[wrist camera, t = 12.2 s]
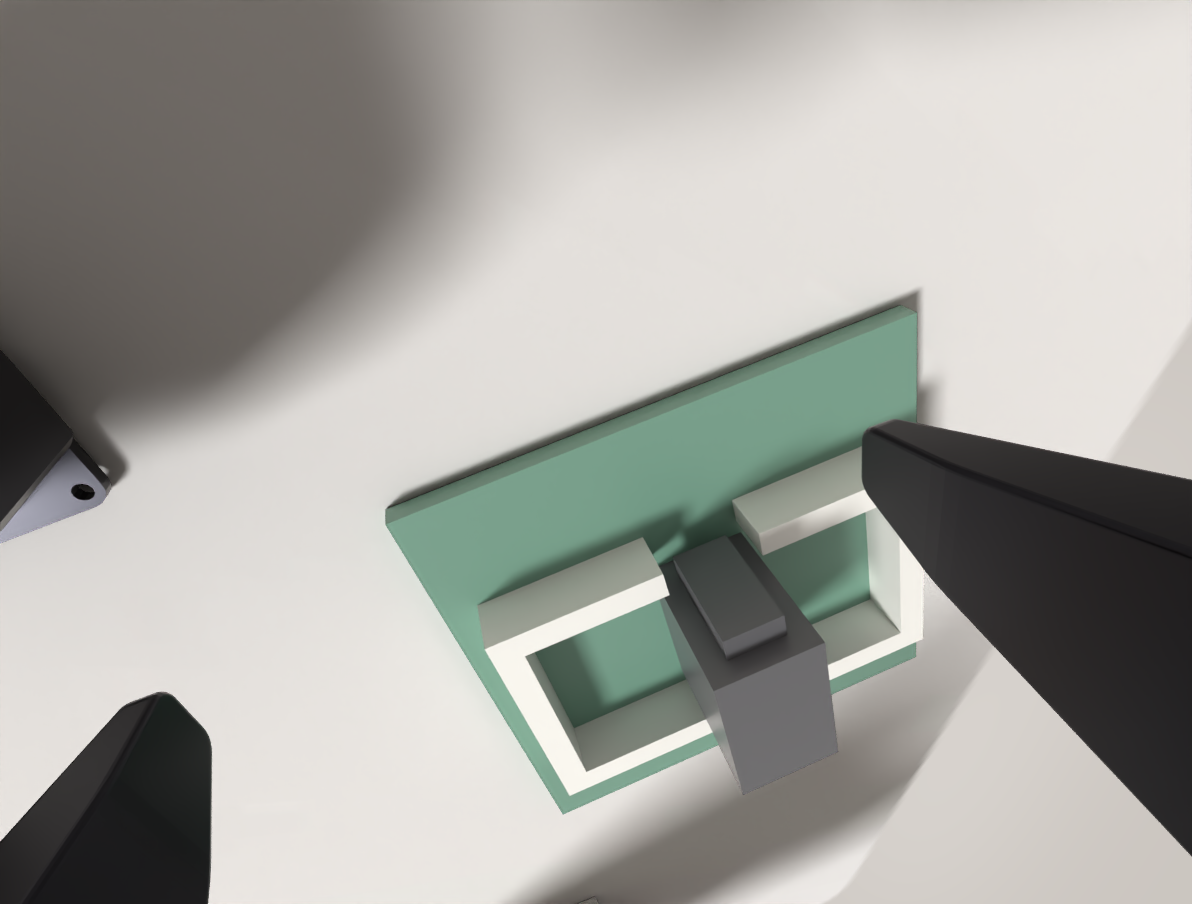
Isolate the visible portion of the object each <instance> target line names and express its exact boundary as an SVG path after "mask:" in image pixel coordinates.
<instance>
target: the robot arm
mask: <svg viewBox="0 0 1192 904" xmlns="http://www.w3.org/2000/svg"><path fill="white" fill-rule="evenodd" d="M73 435H74V434H73V432H72V430H71V429H70V428H69V427H68V426H67V425H66V423H65V422H64V421H63V420H62V419H61V418H60V417H59V415H58V414H57V413H56V412H55V411H54V410H53V409H52V407H51V406H50V405H49V404H48V403H47V402H46V401H45V400H44V398H43V397H42V396H41V395H40V394H39V393H38V392H37V390H36V389H35V388H34V387H33V386H32V385H31V384H30V382H29V381H28V380H27V379H26V378H25V377H24V376H23V375H22V373H21V372H20V371H19V370H18V369H17V368H16V367H15V365H14V364H13V363H12V362H11V361H10V360H9V359H8V357H7V356H6V355H5V354H4V353H3V352H2V351H1V350H0V543H2V542H5V541H8V540H10V539H13V538H15V537H18V536H21V535H23V534H26V533H29V532H31V531H34V530H36V529H39V528H42V527H44V526H47V525H49V524H52V523H55V522H57V521H60V520H62V519H65V518H68V517H70V516H73V515H76V514H78V513H81V512H83V511H86V510H89V509H91V508H94V507H96V506H98V505H100V504H101V503H103V501H104V500H105V498H106V497H107V495H108V493H109V492H110V490H111V482H110V481H109V479H108V477H107V476H106V475H105V474H104V473H103V471H102V470H101V469H100V468H99V467H98V466H97V465H96V463H95V462H94V461H93V460H92V459H91V458H90V457H89V456H88V454H87V453H86V452H85V451H84V450H83V449H82V448H81V447H80V445H79V444H78V443H77V442H76V441H75V440H74V439H73ZM861 477H862V483H863V486H864V489H865V491H866V493H867V495H868V496H869V498H870V499H871V500H872V502H873V503H874V504H875V506H876V507H877V508H878V510H879V511H880V512H881V514H882V515H883V516H884V518H885V519H886V520H887V521H888V523H889V524H890V525H891V527H892V528H893V529H894V531H895V532H896V533H897V535H898V536H899V537H900V539H901V540H902V541H903V543H904V544H905V545H906V547H907V548H908V549H909V550H910V552H911V553H912V554H913V556H914V557H915V558H916V560H917V561H918V562H919V564H920V565H921V566H922V568H923V569H924V570H925V571H926V573H927V574H928V575H929V576H930V578H931V579H932V580H933V581H934V582H935V584H936V585H937V586H938V587H939V588H940V589H941V590H942V591H943V592H944V594H945V595H946V596H947V597H948V598H949V599H950V600H951V601H952V602H953V603H954V604H955V605H956V606H957V608H958V609H959V610H960V611H961V612H962V613H963V614H964V615H965V616H966V617H967V618H968V619H969V620H970V621H971V622H972V623H973V625H974V626H975V627H976V628H977V629H978V630H979V631H980V632H981V633H982V634H983V635H984V636H985V637H986V638H987V639H988V640H989V642H990V643H991V644H992V645H993V646H994V647H995V648H996V649H997V650H998V651H999V652H1000V653H1001V654H1002V655H1003V656H1004V657H1005V658H1006V660H1007V661H1008V662H1009V663H1010V664H1011V665H1012V666H1013V667H1014V668H1015V669H1016V670H1017V671H1018V672H1019V673H1020V674H1021V676H1022V677H1023V678H1024V679H1025V680H1026V681H1027V682H1028V683H1029V684H1030V685H1031V686H1032V687H1033V688H1034V689H1035V690H1036V691H1037V692H1038V694H1039V695H1040V696H1041V697H1042V698H1043V699H1044V700H1045V701H1046V702H1047V703H1048V704H1049V705H1050V706H1051V707H1052V708H1053V710H1054V711H1055V712H1056V713H1057V714H1058V715H1059V716H1060V717H1061V718H1062V719H1063V720H1064V721H1065V722H1066V723H1067V724H1068V726H1069V727H1070V728H1072V730H1073V731H1074V732H1076V734H1077V735H1078V736H1079V737H1080V738H1081V739H1082V740H1083V741H1084V742H1085V744H1086V745H1087V746H1088V747H1089V748H1090V749H1091V750H1092V751H1093V752H1094V753H1095V754H1096V755H1097V756H1098V757H1099V758H1100V760H1101V761H1102V762H1103V763H1104V764H1105V765H1106V766H1107V767H1108V768H1109V769H1110V770H1111V771H1112V772H1113V773H1114V774H1115V775H1116V777H1117V778H1118V779H1119V780H1120V781H1121V782H1122V783H1123V784H1124V785H1125V786H1126V787H1127V788H1128V789H1129V790H1130V791H1131V792H1132V793H1133V795H1134V796H1135V797H1136V798H1137V799H1138V800H1139V801H1140V802H1141V803H1142V804H1143V805H1144V806H1145V807H1146V808H1147V809H1148V810H1149V812H1151V814H1152V815H1153V816H1154V817H1155V818H1156V819H1157V820H1158V821H1159V822H1160V823H1161V824H1162V825H1163V826H1164V828H1165V829H1166V830H1167V831H1168V832H1169V833H1170V834H1171V835H1172V836H1173V837H1174V838H1175V839H1176V840H1177V841H1178V842H1179V843H1180V845H1181V846H1182V847H1183V848H1184V849H1185V850H1186V851H1187V852H1188V853H1189V854H1190V855H1191V856H1192V480H1191V479H1186V478H1181V477H1176V476H1171V475H1166V474H1162V473H1156V472H1151V471H1147V470H1142V469H1137V468H1132V467H1128V466H1122V465H1118V464H1113V463H1108V462H1103V461H1098V460H1094V459H1089V458H1084V457H1079V456H1074V455H1069V454H1064V453H1060V452H1055V451H1050V450H1045V449H1040V448H1035V447H1030V446H1026V445H1021V444H1016V443H1011V442H1006V441H1001V440H996V439H991V438H987V437H982V436H977V435H972V434H967V433H962V432H957V431H953V430H948V429H943V428H938V427H933V426H928V425H924V424H919V423H914V422H909V421H904V420H899V419H891V420H887V421H885V422H882V423H879V424H877V425H874V426H871V427H869V428H867V429H866V430H865V431H864V433H863V436H862V476H861ZM77 484H85V485H89V486H90V487H92V488H93V490H94V492H86V491H83V490H82V489H80V488H79V487H78V485H77ZM211 798H212V747H211V742H210V739H209V736H208V734H207V732H206V731H205V729H204V728H203V727H202V726H201V725H200V724H199V722H198V721H197V720H196V719H195V718H194V717H193V716H192V715H191V714H190V713H189V712H188V711H187V710H186V709H185V708H184V707H183V705H182V704H181V703H180V702H179V701H178V700H177V699H176V698H175V697H174V696H173V695H171V694H169V693H167V692H156V693H154V694H151V695H148V696H146V697H143V698H140V699H138V700H135V701H132V702H130V703H128V704H126V705H125V706H123V707H122V708H121V709H120V710H119V711H118V712H117V713H116V714H115V715H114V716H113V718H112V719H111V720H110V721H109V722H108V723H107V724H106V725H105V726H104V728H103V729H102V730H101V731H100V732H99V733H98V734H97V735H96V736H95V737H94V739H93V740H92V741H91V742H90V743H89V744H88V745H87V746H86V747H85V749H84V750H83V751H82V752H81V753H80V754H79V755H78V756H77V757H76V758H75V760H74V761H73V762H72V763H71V764H70V765H69V766H68V767H67V768H66V770H65V771H64V772H63V773H62V774H61V775H60V776H59V777H58V778H57V780H56V781H55V782H54V783H53V784H52V785H51V786H50V787H49V788H48V789H47V791H46V792H45V793H44V794H43V795H42V796H41V797H40V798H39V799H38V801H37V802H36V803H35V804H34V805H33V806H32V807H31V808H30V809H29V810H28V812H27V813H26V814H25V815H24V816H23V817H22V818H21V819H20V820H19V822H18V823H17V824H16V825H15V826H14V827H13V828H12V829H11V830H10V831H9V833H8V834H7V835H6V836H5V837H4V838H3V839H2V840H1V841H0V904H208V898H209V887H210V872H211Z"/></svg>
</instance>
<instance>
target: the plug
mask: <svg viewBox="0 0 1192 904" xmlns="http://www.w3.org/2000/svg"><path fill="white" fill-rule="evenodd" d="M673 559H674V560H673V561H670V562H668V563H666V564H663V565H661V566H659V568H660V570H661V571H662V573H663V576H664V579H665V582H666V585H667V589H668V592H669V596H666V597H664V598H662V599H659V600H660V603H661V606H662V609H663V612H664V616H665V619H666V622H667V625H668V628H669V631H670V634H671V637H672V640H673V644H674V647H675V650H676V653H677V656H678V659H679V662H680V665H681V668H682V671H683V673H684V675H685V677H686V679H687V681H688V684H689V686H690V688H691V690H692V692H693V694H694V696H695V698H696V700H697V702H698V704H699V706H700V708H701V710H702V712H703V714H704V716H705V718H706V720H707V722H708V724H709V726H710V728H711V730H712V732H713V734H714V736H715V738H716V740H717V742H718V744H719V747H720V749H721V751H722V753H723V755H724V757H725V759H726V761H727V763H728V765H729V767H730V769H731V771H732V773H733V775H734V777H735V779H736V781H737V783H738V785H739V787H740V789H741V791H742V793H743V795H744V794H746V793H749V792H751V791H753V790H755V789H757V788H760V787H762V786H764V785H766V784H768V783H771V782H773V781H775V780H777V779H779V778H782V777H784V776H786V775H788V774H790V773H793V772H795V771H797V770H799V769H801V768H804V767H806V766H808V765H810V764H812V763H815V762H817V761H819V760H821V759H823V758H826V757H828V756H830V755H832V754H834V753H837V752H838V747H837V739H836V730H835V722H834V713H833V705H832V696H831V688H830V680H829V671H828V663H827V654H826V646H825V642H824V640H823V639H822V638H821V636H820V635H819V634H818V633H817V631H816V630H815V629H814V627H813V626H812V625H811V623H810V622H809V621H808V619H807V618H806V617H805V615H804V614H803V613H802V612H801V610H800V609H799V608H798V606H797V605H796V604H795V602H794V601H793V600H792V598H791V597H790V596H789V595H788V593H787V592H786V591H785V589H784V588H783V587H782V585H781V584H780V583H779V581H778V580H777V579H776V578H775V576H774V575H773V574H772V572H771V571H770V570H769V568H768V567H767V566H766V564H765V563H764V562H763V560H762V559H761V558H760V557H759V555H758V554H757V553H756V551H755V550H754V549H753V547H752V546H751V545H750V543H749V542H748V541H747V540H746V538H745V537H744V536H743V534H742V533H741V532H740V533H737V534H735V535H732V536H730V537H727V536H726V535H724V536H722V537H719V538H717V539H715V540H712V541H710V542H707V543H705V544H703V545H700V546H698V547H695V548H693V549H691V550H688V551H686V552H684V553H681V554H679V555H676V556H674V557H673Z"/></svg>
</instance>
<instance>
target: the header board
mask: <svg viewBox="0 0 1192 904" xmlns="http://www.w3.org/2000/svg"><path fill="white" fill-rule="evenodd" d="M891 419H899V420H904V421H909V422H914V423H917V312H915V311H913V310H910V309H908V308H906V307H904V306H902V305H899V306H897V307H894V308H892V309H889V310H887V311H884V312H882V313H879V314H877V315H874V316H872V317H869V318H867V319H864V320H862V321H859V322H856V323H854V324H851V325H849V326H846V327H844V328H841V329H839V330H836V331H834V332H831V333H829V334H826V335H824V336H821V337H819V338H816V339H814V340H811V341H809V342H806V343H804V344H801V345H799V346H796V347H794V348H791V349H788V350H786V351H783V352H781V353H778V354H776V355H773V356H771V357H768V358H766V359H763V360H761V361H758V362H756V363H753V364H751V365H748V366H746V367H743V368H741V369H738V370H736V371H733V372H731V373H728V374H726V375H723V376H721V377H718V378H715V379H713V380H710V381H708V382H705V383H703V384H700V385H698V386H695V387H693V388H690V389H688V390H685V391H683V392H680V393H678V394H675V395H673V396H670V397H668V398H665V399H663V400H660V401H658V402H655V403H653V404H650V405H647V406H645V407H642V408H640V409H637V410H635V411H632V412H630V413H627V414H625V415H622V416H620V417H617V418H615V419H612V420H610V421H607V422H605V423H602V424H600V425H597V426H595V427H592V428H590V429H587V430H585V431H582V432H579V433H577V434H574V435H572V436H569V437H567V438H564V439H562V440H559V441H557V442H554V443H552V444H549V445H547V446H544V447H542V448H539V449H537V450H534V451H532V452H529V453H527V454H524V455H522V456H519V457H517V458H514V459H511V460H509V461H506V462H504V463H501V464H499V465H496V466H494V467H491V468H489V469H486V470H484V471H481V472H479V473H476V474H474V475H471V476H469V477H466V478H464V479H461V480H459V481H456V482H454V483H451V484H449V485H446V486H444V487H441V488H438V489H436V490H433V491H431V492H428V493H426V494H423V495H421V496H418V497H416V498H413V499H411V500H408V501H406V502H403V503H401V504H398V505H396V506H393V507H391V508H388V509H386V510H385V525H386V526H387V528H388V529H389V531H390V533H391V534H392V536H393V538H394V539H395V541H396V543H397V544H398V546H399V547H400V549H401V551H402V552H403V554H404V556H405V557H406V559H407V560H408V562H409V564H410V565H411V567H412V569H413V570H414V572H415V574H416V575H417V577H418V578H419V580H420V582H421V583H422V585H423V587H424V588H425V590H426V592H427V593H428V595H429V596H430V598H431V600H432V601H433V603H434V605H435V606H436V608H437V609H438V611H439V613H440V614H441V616H442V618H443V619H444V621H445V623H446V624H447V626H448V627H449V629H450V631H451V632H452V634H453V636H454V637H455V639H456V641H457V642H458V644H459V645H460V647H461V649H462V650H463V652H464V654H465V655H466V657H467V658H468V660H469V662H470V663H471V665H472V667H473V668H474V670H475V672H476V673H477V675H478V676H479V678H480V680H481V681H482V683H483V685H484V686H485V688H486V690H487V691H488V693H489V694H490V696H491V698H492V699H493V701H494V703H495V704H496V706H497V707H498V709H499V711H500V712H501V714H502V716H503V717H504V719H505V721H506V722H507V724H508V725H509V727H510V729H511V730H512V732H513V734H514V735H515V737H516V739H517V740H518V742H519V743H520V745H521V747H522V748H523V750H524V752H525V753H526V755H527V756H528V758H529V760H530V761H531V763H532V765H533V766H534V768H535V770H536V771H537V773H538V774H539V776H540V778H541V779H542V781H543V783H544V784H545V786H546V788H547V789H548V791H549V792H550V794H551V796H552V797H553V799H554V801H555V802H556V804H557V805H558V807H559V809H560V810H561V812H562V814H565V813H567V812H570V811H572V810H574V809H576V808H579V807H581V806H583V805H585V804H588V803H590V802H592V801H594V800H596V799H599V798H601V797H603V796H605V795H608V794H610V793H612V792H614V791H617V790H619V789H621V788H623V787H626V786H628V785H630V784H632V783H635V782H637V781H639V780H641V779H644V778H646V777H648V776H650V775H652V774H655V773H657V772H659V771H661V770H664V769H666V768H668V767H670V766H673V765H675V764H677V763H679V762H682V761H684V760H686V759H688V758H691V757H693V756H695V755H697V754H699V753H702V752H704V751H706V750H708V749H711V748H713V747H715V746H717V745H719V744H718V742H717V740H716V738H715V736H714V734H713V732H712V730H711V728H710V726H709V724H708V722H707V720H706V718H705V716H704V714H703V712H702V710H701V708H700V706H699V704H698V702H697V700H696V698H695V696H694V694H693V692H692V690H691V688H690V686H689V684H688V681H687V679H686V677H685V675H684V673H683V671H682V668H681V665H680V662H679V659H678V656H677V653H676V650H675V647H674V644H673V640H672V637H671V634H670V631H669V628H668V625H667V622H666V619H665V616H664V612H663V609H662V606H661V603H660V600H659V599H662V598H664V597H666V596H669V592H668V589H667V585H666V582H665V579H664V576H663V573H662V571H661V570H660V568H659V566H661V565H663V564H666V563H668V562H670V561H673V560H674V559H673V557H674V556H676V555H679V554H681V553H684V552H686V551H688V550H691V549H693V548H695V547H698V546H700V545H703V544H705V543H707V542H710V541H712V540H715V539H717V538H719V537H722V536H724V535H726V536H727V537H730V536H732V535H735V534H737V533H740V532H741V533H742V534H743V536H744V537H745V538H746V540H747V541H748V542H749V543H750V545H751V546H752V547H753V549H754V550H755V551H756V553H757V554H758V555H759V557H760V558H761V559H762V560H763V562H764V563H765V564H766V566H767V567H768V568H769V570H770V571H771V572H772V574H773V575H774V576H775V578H776V579H777V580H778V581H779V583H780V584H781V585H782V587H783V588H784V589H785V591H786V592H787V593H788V595H789V596H790V597H791V598H792V600H793V601H794V602H795V604H796V605H797V606H798V608H799V609H800V610H801V612H802V613H803V614H804V615H805V617H806V618H807V619H808V621H809V622H810V623H811V625H812V626H813V627H814V629H815V630H816V631H817V633H818V634H819V635H820V636H821V638H822V639H823V640H824V642H825V646H826V654H827V663H828V671H829V680H830V688H831V695H832V694H834V693H836V692H838V691H841V690H843V689H845V688H847V687H850V686H852V685H854V684H856V683H858V682H861V681H863V680H865V679H867V678H870V677H872V676H874V675H876V674H879V673H881V672H883V671H885V670H888V669H890V668H892V667H894V666H897V665H899V664H901V663H903V662H905V661H908V660H910V659H912V658H914V657H916V642H917V641H919V640H921V639H923V597H924V569H923V568H922V566H921V565H920V564H919V562H918V561H917V560H916V558H915V557H914V556H913V554H912V553H911V552H910V550H909V549H908V548H907V547H906V545H905V544H904V543H903V541H902V540H901V539H900V537H899V536H898V535H897V533H896V532H895V531H894V529H893V528H892V527H891V525H890V524H889V523H888V521H887V520H886V519H885V518H884V516H883V515H882V514H881V512H880V511H879V510H878V508H877V507H876V506H875V504H874V503H873V502H872V500H871V499H870V498H869V496H868V495H867V493H866V491H865V489H864V486H863V483H862V477H861V476H862V436H863V433H864V431H865V430H866V429H867V428H869V427H871V426H874V425H877V424H879V423H882V422H885V421H887V420H891Z"/></svg>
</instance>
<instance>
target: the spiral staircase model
mask: <svg viewBox="0 0 1192 904" xmlns="http://www.w3.org/2000/svg"><path fill="white" fill-rule="evenodd" d="M579 904H599V903H598V901H597V899H596V897H592V898H590V899H588V900H586V901H583V902H581V903H579Z"/></svg>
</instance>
